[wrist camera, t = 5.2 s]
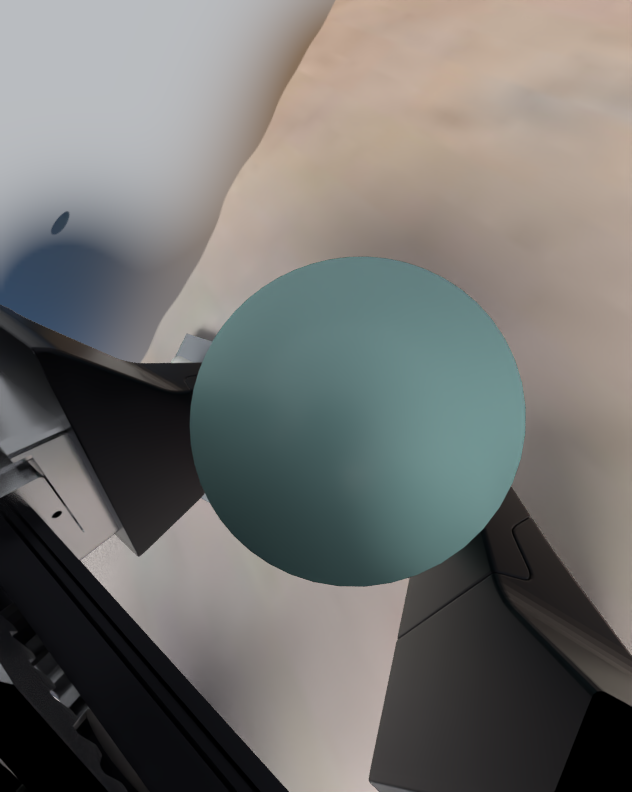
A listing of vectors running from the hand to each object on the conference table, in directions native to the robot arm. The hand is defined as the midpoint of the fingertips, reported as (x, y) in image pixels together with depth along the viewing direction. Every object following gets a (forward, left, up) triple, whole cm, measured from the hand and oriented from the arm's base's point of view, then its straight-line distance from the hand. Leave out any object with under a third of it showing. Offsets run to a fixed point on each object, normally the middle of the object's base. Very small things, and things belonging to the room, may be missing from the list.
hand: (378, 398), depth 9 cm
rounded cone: (-1, 0, -7) cm, 7 cm away
